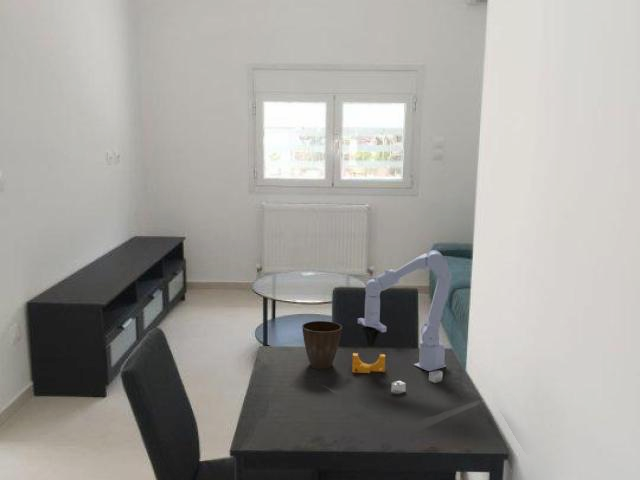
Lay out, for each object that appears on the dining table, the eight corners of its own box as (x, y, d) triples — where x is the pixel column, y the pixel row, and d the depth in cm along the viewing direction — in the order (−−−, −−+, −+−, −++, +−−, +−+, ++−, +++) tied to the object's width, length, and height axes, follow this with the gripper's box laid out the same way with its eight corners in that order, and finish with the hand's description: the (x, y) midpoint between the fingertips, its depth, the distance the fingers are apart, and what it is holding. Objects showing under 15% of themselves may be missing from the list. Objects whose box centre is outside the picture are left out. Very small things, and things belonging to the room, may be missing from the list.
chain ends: (437, 377, 217) (438, 369, 217) (443, 380, 215) (444, 372, 214) (389, 391, 203) (389, 383, 203) (395, 394, 201) (395, 386, 200)
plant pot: (304, 359, 235) (305, 319, 232) (342, 361, 233) (343, 321, 230) (298, 372, 220) (299, 330, 218) (338, 375, 218) (339, 332, 216)
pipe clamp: (352, 373, 220) (352, 357, 219) (352, 369, 224) (352, 353, 224) (384, 375, 219) (385, 358, 218) (384, 371, 224) (385, 354, 223)
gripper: (352, 308, 229) (350, 342, 231) (377, 317, 218) (375, 352, 220) (366, 306, 234) (364, 339, 235) (391, 314, 222) (389, 349, 224)
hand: (371, 345), depth 228 cm, fingers closed
